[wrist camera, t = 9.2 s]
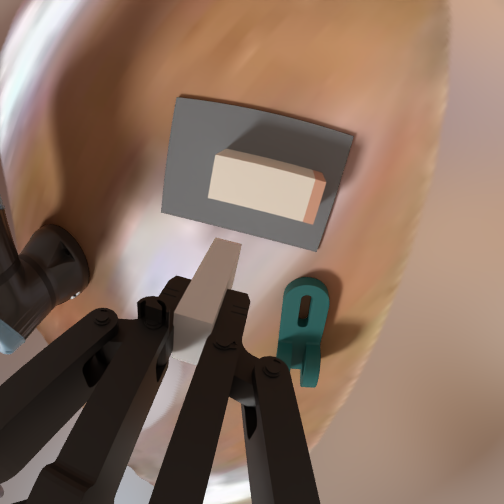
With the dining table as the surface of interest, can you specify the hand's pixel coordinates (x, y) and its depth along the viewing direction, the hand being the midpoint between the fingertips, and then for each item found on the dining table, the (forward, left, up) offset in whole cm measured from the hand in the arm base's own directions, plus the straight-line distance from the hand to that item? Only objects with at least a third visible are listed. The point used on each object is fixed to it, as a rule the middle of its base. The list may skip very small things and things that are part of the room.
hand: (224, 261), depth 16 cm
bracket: (+11, -21, -22) cm, 32 cm away
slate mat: (-2, 0, -21) cm, 21 cm away
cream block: (-5, 0, -18) cm, 19 cm away
